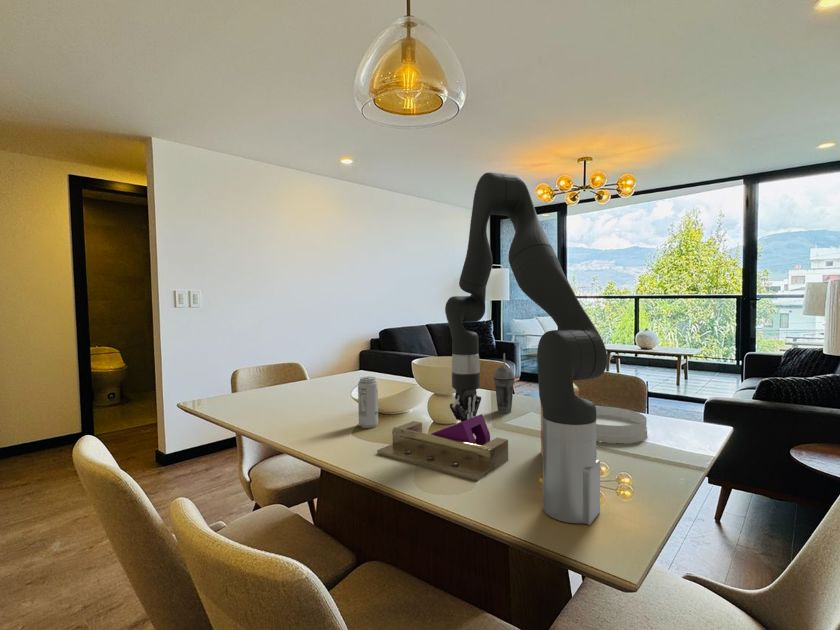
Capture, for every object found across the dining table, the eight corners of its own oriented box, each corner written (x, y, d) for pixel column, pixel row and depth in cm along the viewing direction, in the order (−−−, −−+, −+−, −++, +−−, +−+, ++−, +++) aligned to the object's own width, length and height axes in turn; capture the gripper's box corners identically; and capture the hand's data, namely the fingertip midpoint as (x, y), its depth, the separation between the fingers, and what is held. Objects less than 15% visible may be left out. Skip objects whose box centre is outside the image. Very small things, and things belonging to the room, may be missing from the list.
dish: (565, 440, 121) (564, 422, 121) (564, 419, 142) (564, 404, 142) (655, 447, 114) (655, 428, 114) (640, 424, 135) (640, 408, 135)
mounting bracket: (422, 473, 114) (475, 456, 104) (410, 442, 116) (462, 422, 106) (442, 462, 122) (495, 445, 111) (431, 433, 124) (481, 413, 113)
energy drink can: (380, 427, 136) (379, 378, 135) (361, 429, 134) (360, 380, 133) (375, 422, 141) (374, 375, 141) (356, 424, 139) (355, 377, 139)
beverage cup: (492, 413, 150) (491, 354, 149) (495, 408, 156) (494, 352, 156) (514, 414, 147) (513, 355, 147) (516, 409, 154) (515, 352, 154)
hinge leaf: (508, 460, 106) (508, 438, 106) (476, 481, 94) (476, 457, 94) (413, 438, 124) (413, 420, 124) (377, 454, 112) (376, 433, 112)
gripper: (464, 375, 111) (465, 443, 111) (489, 368, 121) (490, 430, 122) (440, 372, 115) (441, 438, 116) (466, 366, 126) (467, 426, 126)
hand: (466, 434), depth 119 cm, fingers closed
